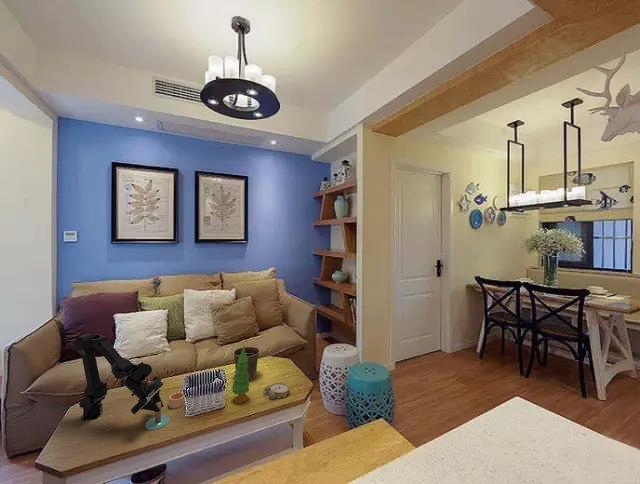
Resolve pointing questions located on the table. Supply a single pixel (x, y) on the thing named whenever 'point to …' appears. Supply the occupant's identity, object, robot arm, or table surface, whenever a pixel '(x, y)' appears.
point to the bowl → (176, 400)
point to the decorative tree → (241, 378)
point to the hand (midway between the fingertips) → (161, 409)
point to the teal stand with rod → (157, 420)
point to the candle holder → (277, 390)
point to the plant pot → (249, 360)
